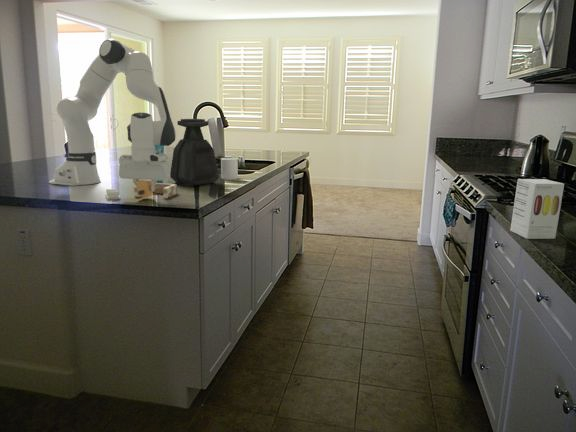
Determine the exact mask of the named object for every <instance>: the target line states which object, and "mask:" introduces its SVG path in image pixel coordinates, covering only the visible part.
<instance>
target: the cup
mask: <svg viewBox="0 0 576 432" xmlns="http://www.w3.org/2000/svg"><path fill="white" fill-rule="evenodd" d="M238 162H239V161H238V158H236V157H222V158H220V169H221V171H220V176H221V179H222V180H223V181H224V180H225V181H234V180H235V181H236V180H237V179H238V177H239V176H238V175H239V174H238V171H239V169H238V168H239V167H238V166H239V165H238V164H239V163H238Z"/></svg>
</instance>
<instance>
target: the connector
mask: <svg viewBox="0 0 576 432" xmlns="http://www.w3.org/2000/svg"><path fill="white" fill-rule="evenodd" d="M151 185H152V183H151V180H143V179H139V181H137V188H138V198H149V197H151V196H153V195H154V193H153V191H149V187H150V186H151Z"/></svg>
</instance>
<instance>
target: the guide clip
mask: <svg viewBox="0 0 576 432" xmlns="http://www.w3.org/2000/svg"><path fill="white" fill-rule="evenodd" d="M105 192H106V194H105V199H106V200H107V201H110V200H111V201H112V200H115V201H116V200H121V196H120V192H119V191H118V188H108V189H107V188H106V191H105Z"/></svg>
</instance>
